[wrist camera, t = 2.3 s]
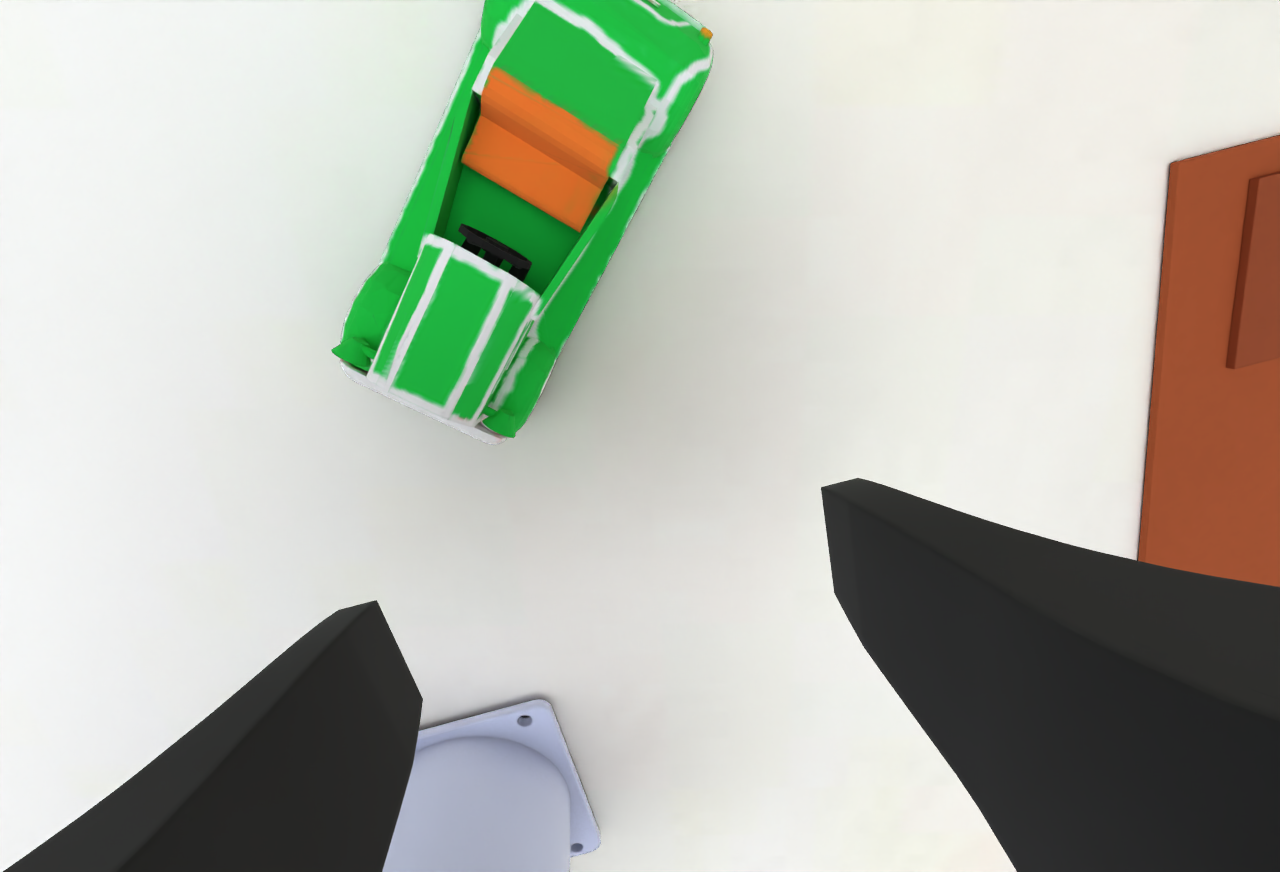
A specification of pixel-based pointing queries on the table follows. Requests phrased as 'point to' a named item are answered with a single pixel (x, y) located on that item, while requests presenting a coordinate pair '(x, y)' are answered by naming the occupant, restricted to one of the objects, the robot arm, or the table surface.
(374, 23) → the table surface
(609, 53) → the toy car
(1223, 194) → the rust cloth
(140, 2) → the table surface
